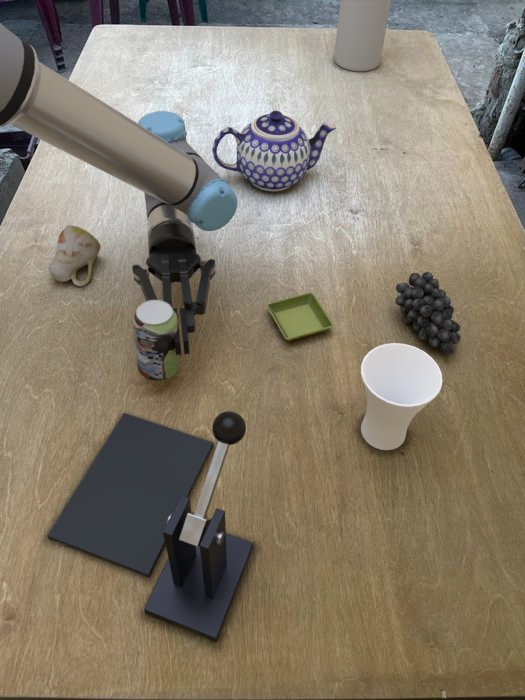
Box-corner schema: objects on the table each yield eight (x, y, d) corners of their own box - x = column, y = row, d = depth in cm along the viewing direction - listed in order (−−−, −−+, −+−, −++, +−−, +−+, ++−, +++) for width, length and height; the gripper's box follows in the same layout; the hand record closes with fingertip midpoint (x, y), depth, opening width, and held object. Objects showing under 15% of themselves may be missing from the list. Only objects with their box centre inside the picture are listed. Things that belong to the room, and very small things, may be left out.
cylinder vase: (389, 62, 168) (408, -43, 149) (360, 77, 162) (377, -30, 143) (352, 47, 174) (366, -56, 155) (324, 61, 168) (335, -44, 149)
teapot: (216, 202, 125) (214, 135, 114) (210, 161, 135) (207, 95, 123) (338, 195, 128) (347, 129, 117) (323, 155, 137) (331, 90, 126)
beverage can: (138, 360, 94) (118, 301, 86) (185, 349, 95) (170, 289, 86) (142, 391, 90) (122, 332, 81) (192, 378, 91) (177, 319, 82)
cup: (421, 409, 93) (444, 350, 83) (417, 470, 86) (441, 414, 76) (352, 396, 94) (365, 336, 84) (342, 454, 88) (355, 396, 77)
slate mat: (48, 538, 78) (47, 535, 78) (124, 415, 91) (123, 412, 90) (149, 577, 76) (148, 574, 75) (213, 445, 88) (213, 442, 87)
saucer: (264, 312, 105) (265, 303, 104) (311, 299, 108) (312, 291, 106) (285, 348, 100) (285, 340, 99) (333, 334, 102) (335, 326, 101)
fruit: (476, 323, 92) (432, 256, 102) (424, 344, 93) (384, 276, 102) (476, 354, 99) (435, 289, 108) (427, 374, 100) (390, 307, 109)
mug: (39, 284, 108) (34, 226, 105) (80, 275, 116) (77, 221, 113) (70, 290, 105) (66, 230, 102) (110, 280, 113) (108, 225, 110)
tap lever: (222, 409, 69) (215, 404, 66) (252, 418, 68) (247, 415, 65) (179, 535, 67) (170, 537, 63) (210, 546, 66) (202, 549, 63)
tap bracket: (187, 523, 80) (179, 459, 68) (253, 547, 78) (256, 486, 66) (145, 613, 73) (127, 559, 61) (216, 642, 71) (212, 592, 59)
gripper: (213, 254, 105) (230, 360, 90) (132, 260, 103) (136, 370, 88) (212, 217, 99) (230, 325, 84) (126, 223, 97) (129, 334, 82)
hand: (182, 347), depth 86 cm, fingers closed on beverage can
